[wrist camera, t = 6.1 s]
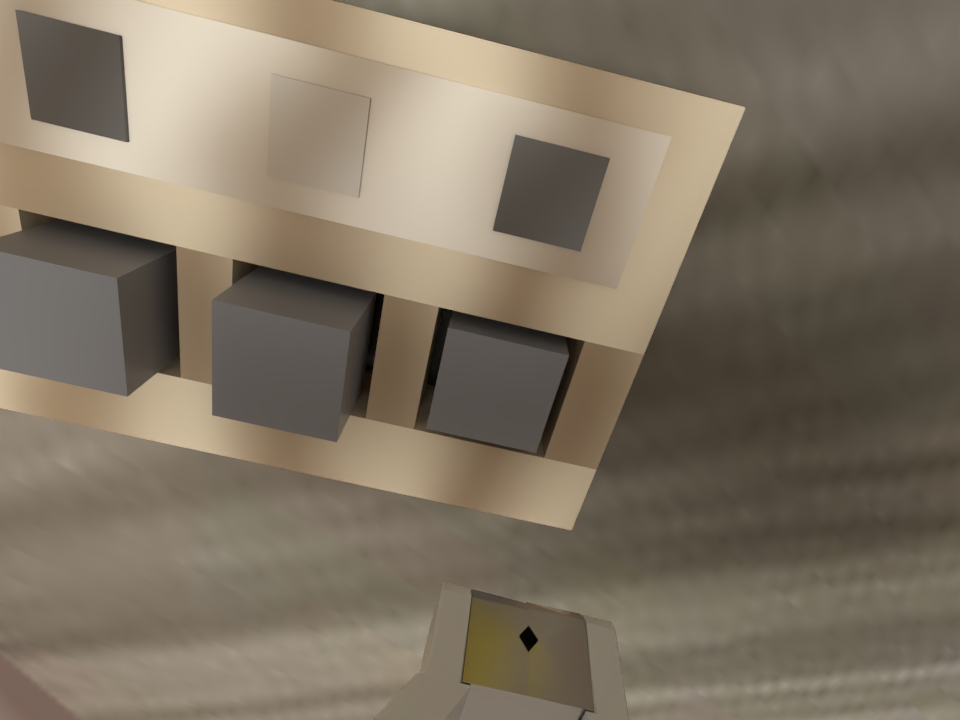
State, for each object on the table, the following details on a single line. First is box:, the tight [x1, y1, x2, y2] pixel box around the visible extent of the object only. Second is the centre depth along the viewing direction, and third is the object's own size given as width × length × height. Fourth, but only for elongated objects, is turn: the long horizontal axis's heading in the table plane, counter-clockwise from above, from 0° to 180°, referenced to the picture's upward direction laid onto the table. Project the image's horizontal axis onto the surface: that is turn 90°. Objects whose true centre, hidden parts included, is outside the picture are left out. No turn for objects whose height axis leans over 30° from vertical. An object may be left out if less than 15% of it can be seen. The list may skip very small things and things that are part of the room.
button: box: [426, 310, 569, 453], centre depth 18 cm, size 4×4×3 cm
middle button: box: [212, 266, 377, 442], centre depth 16 cm, size 4×4×3 cm
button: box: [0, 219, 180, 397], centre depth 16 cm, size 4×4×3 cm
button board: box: [0, 0, 746, 530], centre depth 17 cm, size 20×14×3 cm
